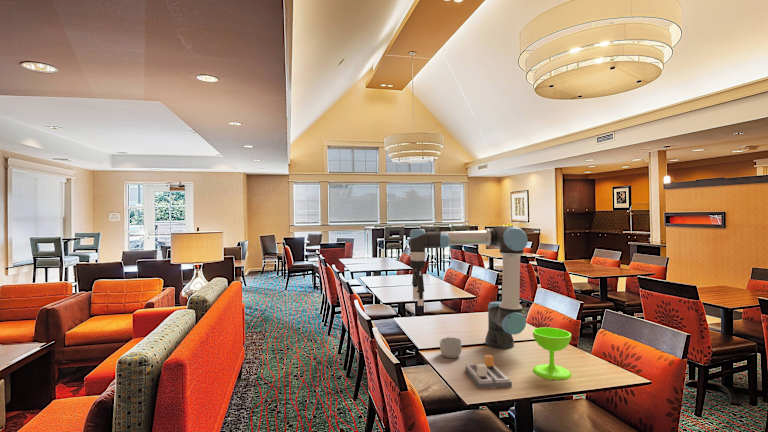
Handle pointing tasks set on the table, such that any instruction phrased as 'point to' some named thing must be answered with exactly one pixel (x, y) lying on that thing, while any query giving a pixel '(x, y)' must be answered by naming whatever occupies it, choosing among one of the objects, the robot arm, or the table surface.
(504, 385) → the console
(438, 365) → the table surface
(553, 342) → the wineglass
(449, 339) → the teacup
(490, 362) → the fader
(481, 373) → the fader
